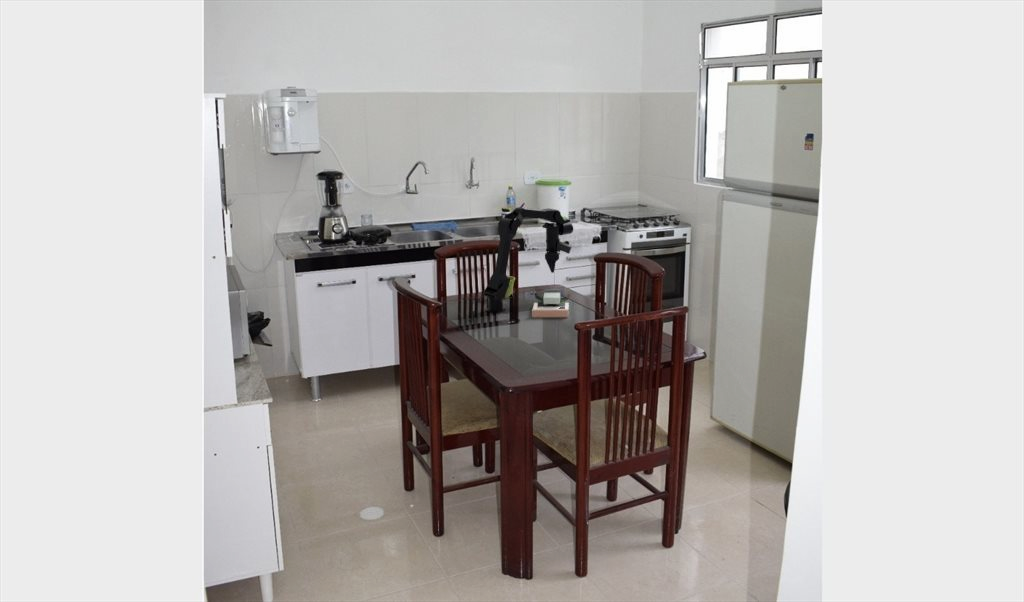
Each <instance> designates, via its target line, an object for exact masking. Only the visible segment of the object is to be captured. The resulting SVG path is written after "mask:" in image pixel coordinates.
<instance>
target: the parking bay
mask: <svg viewBox="0 0 1024 602" xmlns="http://www.w3.org/2000/svg"><path fill="white" fill-rule="evenodd" d="M538 303H539V302H534V303H533V306H532V309H531V317H532V318H569V311H568V310H569V309H570V305H569V304H570V303H569V302H565V303H564V307H565V309H559V308H560V307H561V306H538V305H539V304H538Z"/></svg>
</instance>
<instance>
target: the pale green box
mask: <svg viewBox="0 0 1024 602" xmlns="http://www.w3.org/2000/svg"><path fill="white" fill-rule="evenodd" d="M543 291H544V292H543V293H544V294H543V305H544V307H548V305H556V306H555V307H560V303H561V288H560V289H559V288H556V289H555V288H551V289H550V288H547V289H544V290H543Z"/></svg>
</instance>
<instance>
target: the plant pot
mask: <svg viewBox="0 0 1024 602" xmlns="http://www.w3.org/2000/svg"><path fill="white" fill-rule="evenodd" d="M507 277H508V278H510V282H509V287H508V289H507V291H506V295H505V298H504V299H508V298H507V297H509V296H510V295H511V294H512V295H513V293H514V292H513V289H514V283H515V280H516V277H514V276H510V275H507ZM509 298H510V297H509Z"/></svg>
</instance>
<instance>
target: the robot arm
mask: <svg viewBox="0 0 1024 602" xmlns="http://www.w3.org/2000/svg"><path fill="white" fill-rule="evenodd" d="M525 218H530V219H532V218H533V219H540V220H542V221H545V222H544V224H542V226H541V227H542V228H543V229H545V245H546V246H545V247H546V248H545V251H546V252H545V254H544V260H545V262H546V263H547V266H548V268H549V270H550V272H551V273H553V274H554V273H555V268H556V263H557V262H558V261H559V260H560V254H561V253H560V252H563V253H566V254H570V252H571V249H572V248H573V247H572V246H573V245H571V244H570V241H568V240H564V241H561V239H560V236H566V235H569V234H572V233H573V232H574V226H573V223H572V222H571V219H568V218H566V219H565V218H564V217H563V216H562V214H561V211H560V210H559V209H554V208H543V209H533V208H525V207H515V209H513V210H512V211H510V212H509V213H507V214H505V216H504V217H502V218H501V219H499V221H498V224H497V226H498V227H497V232H498V236H499V245H498V250H497V256H496V261H495V262H496V263H495V268H494V272H493V274H491V276H490V278H489V281H488V284H487V286H486V287H485V289H484V290H483V295H484V296H485V297H487V308H485V309H484V310H485V311H486V312H489V313H491V314H496V313H500V312H501V313H502V312H504V311H506V309H505V308H504V306H503V305H504V304H503V299H506V298H505V295H506V291H507V289H508V287H509V282H510V278H508V277H507V276H508V275H507V271H508V263H509V258H510V251H511V245H512V241H513V239H514V238H515V237H516V235H517V232H518V229H519V227H520V226H521V225H522V224H523V221H524V219H525Z"/></svg>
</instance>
